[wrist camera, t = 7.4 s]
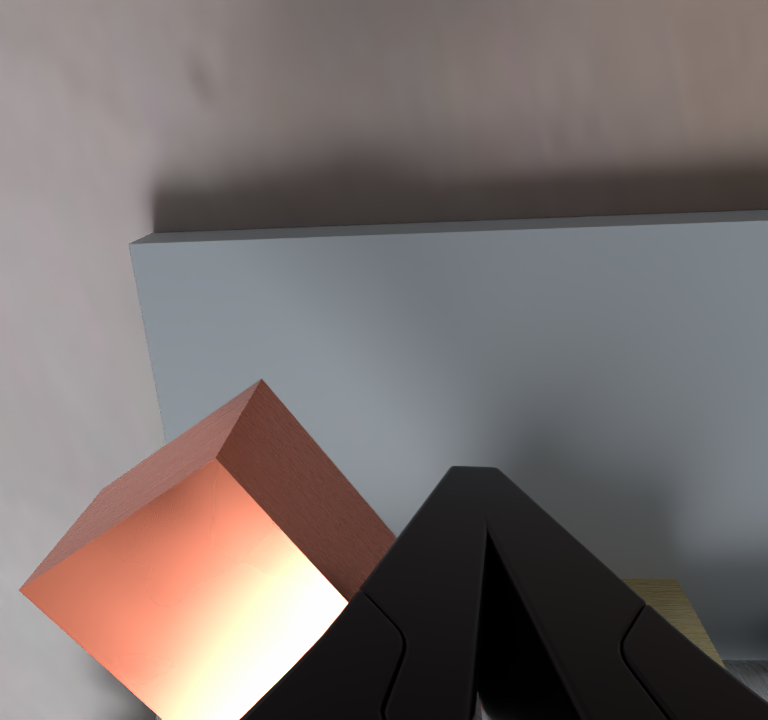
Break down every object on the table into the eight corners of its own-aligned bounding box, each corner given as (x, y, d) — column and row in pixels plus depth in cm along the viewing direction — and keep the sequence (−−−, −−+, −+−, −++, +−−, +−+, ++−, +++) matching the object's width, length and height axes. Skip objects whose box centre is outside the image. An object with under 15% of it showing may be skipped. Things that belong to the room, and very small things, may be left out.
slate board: (1043, 199, 15) (1105, 208, 14) (872, 737, 22) (903, 779, 21) (152, 232, 17) (128, 243, 15) (239, 729, 23) (228, 769, 22)
